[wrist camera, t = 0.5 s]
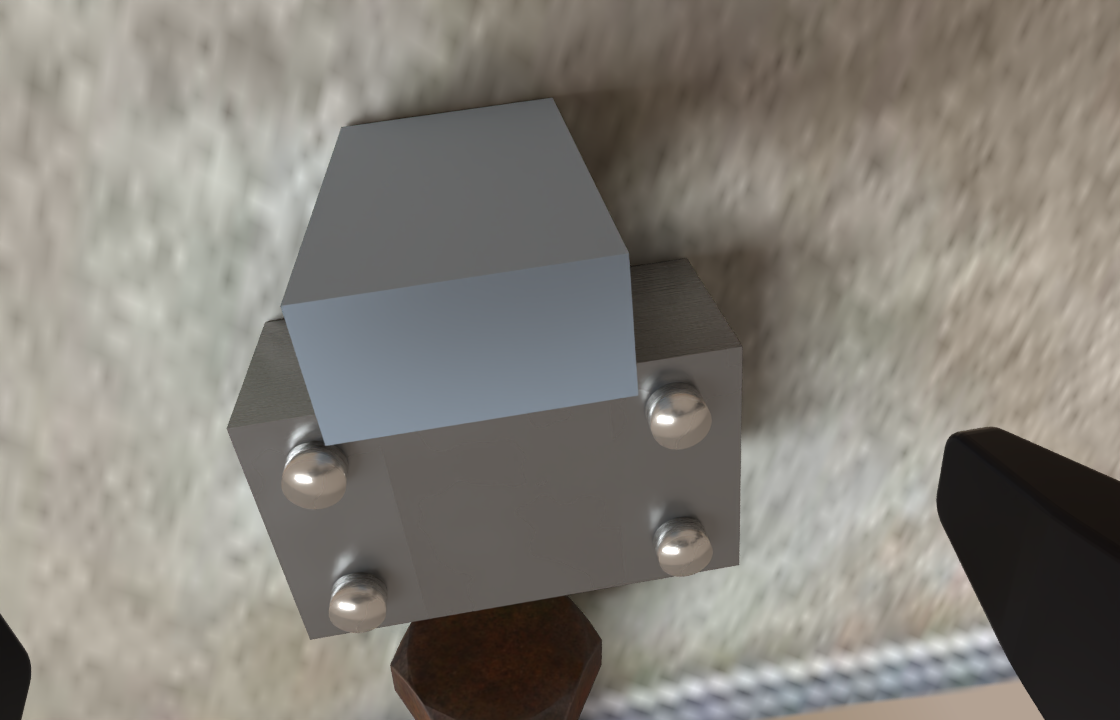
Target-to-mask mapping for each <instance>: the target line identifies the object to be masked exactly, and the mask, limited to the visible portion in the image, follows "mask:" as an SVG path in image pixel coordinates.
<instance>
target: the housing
mask: <svg viewBox="0 0 1120 720" xmlns="http://www.w3.org/2000/svg"><path fill="white" fill-rule="evenodd" d="M630 276H631V291H632V307H633V322H634V337H635V353H636V368H637V383H638V396H632V397H625V398H619V399H613V400H607V401H601V402H594V403H588V404H582V405H576V406H570V407H563V408H557V409H551V410H545V411H539V412H532V413H526V414H520V415H514V416H508V417H502V418H495V419H489V420H483V421H477V422H471V423H464V424H458V425H452V426H446V427H440V428H433V429H427V430H421V431H415V432H409V433H402V434H396V435H390V436H384V437H378V438H371V439H365V440H359V441H353V442H347V443H340V444H334V445H328V446H325V443H324V440H323V437H322V434H321V430H320V427H319V424H318V421H317V418H316V415H315V412H314V409H313V406H312V402H311V399H310V396H309V393H308V390H307V387H306V384H305V381H304V378H303V374H302V371H301V368H300V365H299V362H298V359H297V356H296V353H295V350H294V346H293V343H292V340H291V337H290V334H289V331H288V328H287V325H286V322H285V320H278V321H272V322H265V324H264V327H263V330H262V333H261V335H260V338H259V341H258V344H257V346H256V349H255V352H254V355H253V357H252V360H251V363H250V366H249V368H248V371H247V374H246V377H245V379H244V382H243V385H242V388H241V390H240V393H239V396H238V399H237V402H236V404H235V407H234V410H233V413H232V415H231V418H230V421H229V424H228V426H227V431H228V433H229V436H230V438H231V441H232V443H233V446H234V448H235V451H236V453H237V456H238V459H239V461H240V464H241V466H242V469H243V471H244V474H245V476H246V479H247V481H248V484H249V486H250V489H251V491H252V494H253V496H254V499H255V501H256V504H257V506H258V509H259V512H260V514H261V517H262V519H263V522H264V524H265V527H266V529H267V532H268V534H269V537H270V539H271V542H272V544H273V547H274V549H275V552H276V554H277V557H278V559H279V562H280V565H281V567H282V570H283V572H284V575H285V577H286V580H287V582H288V585H289V587H290V590H291V592H292V595H293V597H294V600H295V602H296V605H297V607H298V610H299V612H300V615H301V618H302V620H303V623H304V625H305V628H306V630H307V633H308V635H309V638H310V640H311V639H317V638H323V637H328V636H334V635H340V634H346V633H351V632H352V633H362V632H367V631H370V630H373V629H375V628H380V627H386V626H391V625H397V624H403V623H409V622H414V621H420V620H426V619H432V618H437V617H443V616H449V615H455V614H460V613H466V612H472V611H478V610H483V609H489V608H495V607H501V606H506V605H512V604H518V603H524V602H529V601H535V600H541V599H546V598H552V597H558V596H564V595H569V594H575V593H581V592H587V591H592V590H598V589H604V588H610V587H615V586H621V585H627V584H633V583H638V582H644V581H650V580H656V579H661V578H667V577H673V576H689V575H692V574H695V573H697V572H702V571H707V570H713V569H719V568H724V567H730V566H736V565H739V541H740V476H741V411H742V345H741V343H740V342H739V340H738V339H737V337H736V335H735V334H734V332H733V331H732V329H731V328H730V326H729V324H728V323H727V321H726V320H725V318H724V316H723V315H722V313H721V312H720V310H719V308H718V307H717V305H716V304H715V302H714V301H713V299H712V297H711V296H710V294H709V293H708V291H707V289H706V288H705V286H704V285H703V283H702V281H701V280H700V278H699V277H698V275H697V274H696V272H695V270H694V269H693V267H692V266H691V264H690V262H689V261H688V259H687V258H685V259H678V260H672V261H665V262H659V263H652V264H646V265H639V266H633V267H630Z"/></svg>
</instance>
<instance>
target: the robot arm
mask: <svg viewBox="0 0 1120 720" xmlns="http://www.w3.org/2000/svg"><path fill="white" fill-rule="evenodd" d="M936 502H937V511H938V515H939V518H940V521H941V523H942V526H943V528H944V530H945V532H946V534H947V536H948V538H949V540H950V542H951V544H952V546H953V548H954V550H955V552H956V554H957V556H958V559H959V561H960V563H961V565H962V567H963V569H964V571H965V573H966V575H967V577H968V579H969V581H970V583H971V585H972V587H973V589H974V591H975V594H976V596H977V598H978V600H979V602H980V604H981V606H982V608H983V610H984V612H985V614H986V616H987V618H988V620H989V622H990V624H991V626H992V628H993V631H994V633H995V635H996V637H997V639H998V641H999V643H1000V645H1001V646H1002V648H1003V650H1004V652H1005V654H1006V656H1007V658H1008V660H1009V662H1010V664H1011V665H1012V667H1013V669H1014V670H1015V672H1016V674H1017V675H1018V677H1019V679H1020V681H1021V682H1022V684H1023V685H1024V687H1025V689H1026V690H1027V692H1028V694H1029V695H1030V697H1031V699H1032V700H1033V702H1034V703H1035V705H1036V706H1037V708H1038V710H1039V711H1040V713H1041V714H1042V716H1043V718H1044V719H1045V720H1120V481H1118V480H1116V479H1114V478H1112V477H1109V476H1107V475H1105V474H1102V473H1100V472H1098V471H1096V470H1093V469H1091V468H1089V467H1087V466H1084V465H1082V464H1080V463H1078V462H1075V461H1073V460H1071V459H1068V458H1066V457H1064V456H1062V455H1059V454H1057V453H1055V452H1053V451H1050V450H1048V449H1046V448H1043V447H1041V446H1039V445H1037V444H1034V443H1032V442H1030V441H1028V440H1025V439H1023V438H1021V437H1019V436H1016V435H1014V434H1012V433H1009V432H1007V431H1005V430H1002V429H1000V428H997V427H983V428H977V429H971V430H966V431H960V432H956V433H954V434H952V435H951V436H950V437H949V438H948V440H947V442H946V445H945V449H944V455H943V461H942V467H941V473H940V479H939V485H938V490H937V499H936ZM30 680H31V664H30V659H29V656H28V654H27V652H26V650H25V648H24V647H23V646H22V644H21V643H20V641H19V640H18V638H17V637H16V635H15V634H14V633H13V631H12V630H11V628H10V627H9V625H8V624H7V622H6V621H5V620H4V618H3V617H2V615H1V614H0V720H21V719H22V714H23V710H24V706H25V702H26V698H27V694H28V690H29V685H30Z"/></svg>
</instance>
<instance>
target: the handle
mask: <svg viewBox="0 0 1120 720" xmlns="http://www.w3.org/2000/svg"><path fill="white" fill-rule="evenodd" d="M281 309H282V312H283V315H284V318H285V322H286V325H287V328H288V331H289V334H290V337H291V340H292V343H293V346H294V350H295V353H296V356H297V359H298V362H299V365H300V368H301V371H302V374H303V378H304V381H305V384H306V387H307V390H308V393H309V396H310V399H311V402H312V406H313V409H314V412H315V415H316V418H317V421H318V424H319V427H320V430H321V434H322V437H323V440H324V443H325V446H328V445H334V444H340V443H347V442H353V441H359V440H365V439H371V438H378V437H384V436H390V435H396V434H402V433H409V432H415V431H421V430H427V429H433V428H440V427H446V426H452V425H458V424H464V423H471V422H477V421H483V420H489V419H495V418H502V417H508V416H514V415H520V414H526V413H532V412H539V411H545V410H551V409H557V408H563V407H570V406H576V405H582V404H588V403H594V402H601V401H607V400H613V399H619V398H625V397H632V396H638V383H637V368H636V353H635V337H634V322H633V307H632V291H631V276H630V261H629V252H628V250H627V248H626V246H625V244H624V242H623V240H622V238H621V236H620V234H619V232H618V230H617V228H616V226H615V224H614V222H613V220H612V218H611V216H610V214H609V212H608V210H607V207H606V205H605V203H604V201H603V199H602V197H601V195H600V193H599V191H598V189H597V187H596V185H595V183H594V181H593V179H592V177H591V175H590V173H589V171H588V169H587V167H586V165H585V163H584V161H583V159H582V157H581V155H580V153H579V151H578V149H577V146H576V144H575V142H574V140H573V138H572V136H571V134H570V132H569V130H568V128H567V126H566V124H565V122H564V120H563V118H562V116H561V114H560V112H559V110H558V108H557V106H556V104H555V102H554V100H553V98H546V99H539V100H532V101H525V102H518V103H510V104H503V105H496V106H489V107H482V108H475V109H468V110H461V111H453V112H446V113H439V114H432V115H425V116H418V117H411V118H404V119H396V120H389V121H382V122H375V123H368V124H361V125H354V126H346V127H341V130H340V133H339V136H338V139H337V142H336V145H335V148H334V151H333V154H332V157H331V160H330V162H329V165H328V168H327V171H326V174H325V177H324V180H323V183H322V186H321V189H320V192H319V195H318V198H317V201H316V204H315V206H314V209H313V212H312V215H311V218H310V221H309V224H308V227H307V230H306V233H305V236H304V239H303V242H302V245H301V247H300V250H299V253H298V256H297V259H296V262H295V265H294V268H293V271H292V274H291V277H290V280H289V283H288V286H287V289H286V291H285V294H284V297H283V300H282V303H281Z"/></svg>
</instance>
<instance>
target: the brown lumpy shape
mask: <svg viewBox="0 0 1120 720" xmlns="http://www.w3.org/2000/svg"><path fill="white" fill-rule="evenodd" d="M601 659H602V639H601V638H600V636H599V635H598V633H597V632H596V630H595V629H594V628H593V626H592V625H591V623H590V622H589V620H588V619H587V618H586V616H585V615H584V614H583V613H582V612H581V610H580V609H579V608H578V607H577V606H576V605H575V604H574V602H573V601H572V600H571V599H570V598H569V597H568V596H567V595H564V596H558V597H552V598H546V599H541V600H535V601H529V602H524V603H518V604H512V605H506V606H501V607H495V608H489V609H483V610H478V611H472V612H466V613H460V614H455V615H449V616H443V617H437V618H432V619H426V620H420V621H414V622H411V624H410V626H409V627H408V629H407V631H406V633H405V635H404V637H403V638H402V640H401V642H400V645H399V647H398V649H397V651H396V653H395V656H394V658H393V660H392V662H391V665H390V666H391V672H392V677H393V683H394V688H395V691H396V692H397V694H398V695H399V697H400V698H401V699H402V701H403V702H404V704H405V705H406V707H407V708H408V710H409V711H410V713H411V714H412V716H413V717H414V718H415V720H578V718H579V716H580V714H581V711H582V709H583V707H584V704H585V702H586V700H587V697H588V695H589V693H590V690H591V688H592V685H593V683H594V681H595V678H596V676H597V674H598V671H599V669H600V667H601Z"/></svg>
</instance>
